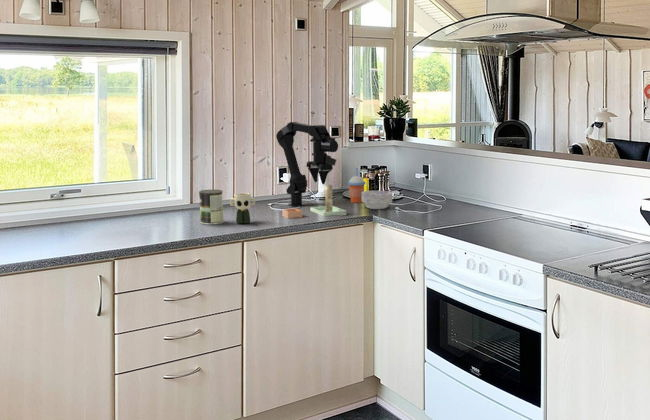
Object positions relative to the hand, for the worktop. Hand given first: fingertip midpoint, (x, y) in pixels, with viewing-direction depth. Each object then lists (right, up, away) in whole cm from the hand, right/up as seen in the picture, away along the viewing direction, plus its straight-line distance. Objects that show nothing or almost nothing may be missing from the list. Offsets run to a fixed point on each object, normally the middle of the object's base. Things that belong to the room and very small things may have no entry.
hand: (319, 183), depth 309 cm
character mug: (-33, -19, -30) cm, 49 cm away
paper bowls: (+28, -12, +5) cm, 31 cm away
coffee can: (-48, -19, -27) cm, 58 cm away
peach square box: (-12, -17, -18) cm, 28 cm away
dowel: (+5, -14, -10) cm, 18 cm away
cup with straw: (+19, -9, +23) cm, 31 cm away
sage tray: (+4, -15, -9) cm, 18 cm away
